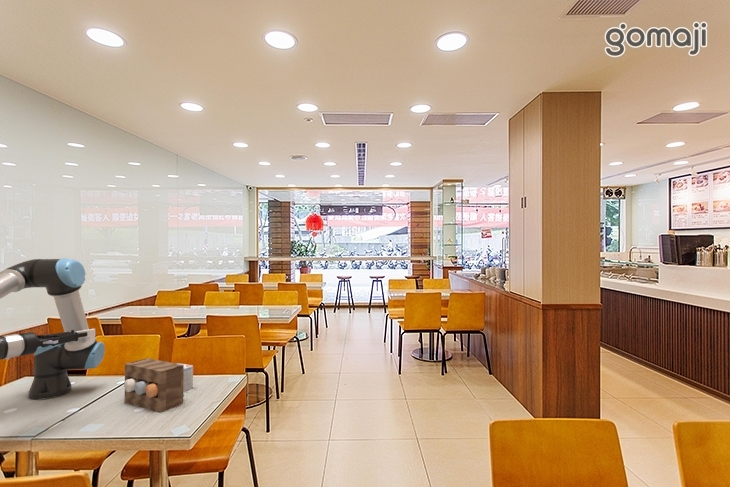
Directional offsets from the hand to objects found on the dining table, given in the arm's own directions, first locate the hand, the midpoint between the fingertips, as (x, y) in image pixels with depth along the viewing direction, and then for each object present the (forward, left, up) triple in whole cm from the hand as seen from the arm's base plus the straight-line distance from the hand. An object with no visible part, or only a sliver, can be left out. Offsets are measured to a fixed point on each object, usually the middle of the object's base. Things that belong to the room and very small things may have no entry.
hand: (94, 332), depth 152 cm
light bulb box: (+5, +34, -32) cm, 47 cm away
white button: (+3, +16, -26) cm, 31 cm away
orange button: (+17, +16, -26) cm, 35 cm away
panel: (+10, +18, -32) cm, 38 cm away
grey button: (+10, +16, -27) cm, 32 cm away
